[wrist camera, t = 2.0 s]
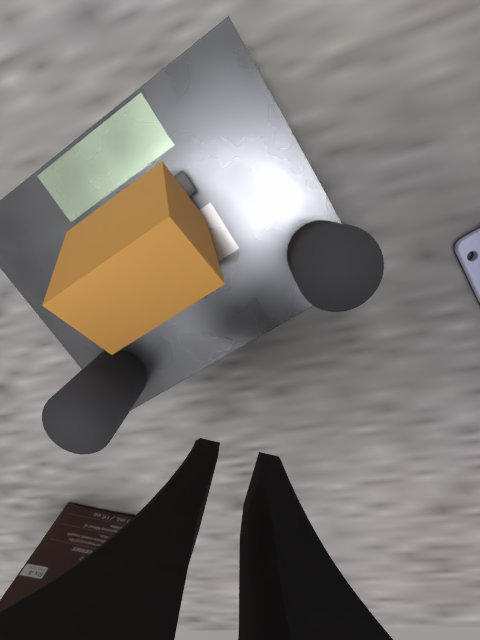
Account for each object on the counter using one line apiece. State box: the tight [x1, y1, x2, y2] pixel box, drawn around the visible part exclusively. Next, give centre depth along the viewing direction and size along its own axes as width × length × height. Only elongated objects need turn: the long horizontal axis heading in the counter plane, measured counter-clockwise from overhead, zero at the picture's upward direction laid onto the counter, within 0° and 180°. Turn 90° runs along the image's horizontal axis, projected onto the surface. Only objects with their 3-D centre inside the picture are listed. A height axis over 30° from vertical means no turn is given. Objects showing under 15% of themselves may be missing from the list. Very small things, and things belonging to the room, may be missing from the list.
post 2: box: [287, 220, 384, 312], centre depth 15 cm, size 3×3×4 cm
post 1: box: [42, 350, 147, 454], centre depth 17 cm, size 3×3×4 cm
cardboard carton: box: [42, 161, 225, 355], centre depth 14 cm, size 3×6×6 cm, turn 123°
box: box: [0, 503, 133, 611], centre depth 20 cm, size 6×4×12 cm
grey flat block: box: [0, 16, 342, 411], centre depth 18 cm, size 12×15×3 cm
